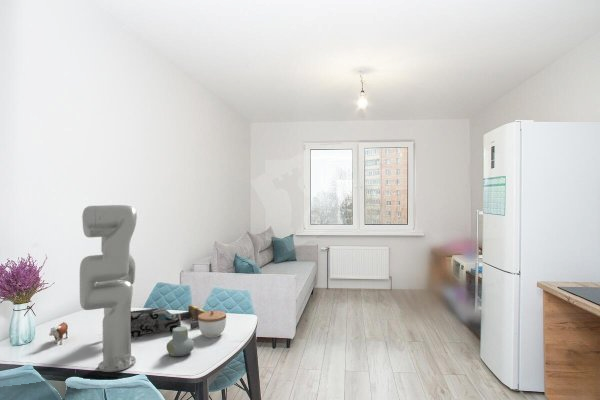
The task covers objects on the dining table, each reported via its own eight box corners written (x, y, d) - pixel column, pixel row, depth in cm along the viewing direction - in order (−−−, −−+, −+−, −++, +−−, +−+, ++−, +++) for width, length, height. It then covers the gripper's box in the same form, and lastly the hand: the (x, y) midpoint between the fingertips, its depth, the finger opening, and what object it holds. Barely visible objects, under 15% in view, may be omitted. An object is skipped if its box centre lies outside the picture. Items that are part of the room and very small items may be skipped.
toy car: (181, 332, 178) (181, 310, 178) (123, 339, 170) (123, 317, 170) (180, 325, 188) (180, 304, 188) (125, 331, 180) (125, 310, 180)
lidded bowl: (212, 328, 182) (211, 305, 182) (232, 332, 176) (231, 309, 176) (192, 336, 171) (191, 312, 171) (212, 342, 165) (212, 316, 165)
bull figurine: (47, 348, 160) (46, 329, 160) (60, 337, 173) (60, 319, 173) (58, 347, 161) (58, 328, 161) (71, 336, 174) (71, 318, 174)
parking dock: (209, 325, 187) (209, 312, 187) (192, 329, 181) (191, 316, 181) (192, 316, 202) (191, 304, 201) (175, 320, 196) (175, 307, 196)
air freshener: (164, 352, 154) (164, 328, 154) (183, 347, 160) (183, 323, 160) (177, 360, 146) (176, 334, 146) (196, 354, 152) (196, 329, 152)
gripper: (127, 298, 163) (127, 338, 163) (114, 291, 176) (115, 328, 176) (108, 301, 158) (108, 342, 158) (97, 293, 171) (97, 332, 171)
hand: (112, 334), depth 167 cm, fingers open, 9 cm apart
